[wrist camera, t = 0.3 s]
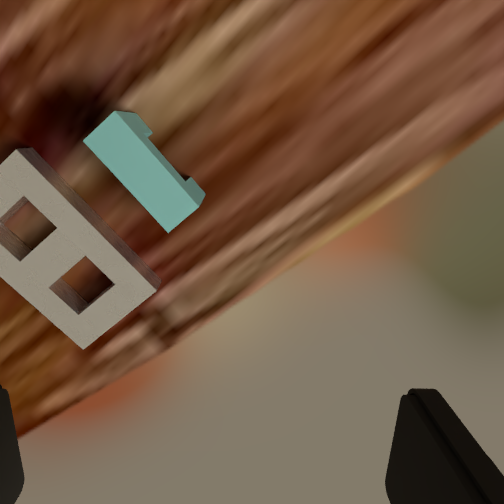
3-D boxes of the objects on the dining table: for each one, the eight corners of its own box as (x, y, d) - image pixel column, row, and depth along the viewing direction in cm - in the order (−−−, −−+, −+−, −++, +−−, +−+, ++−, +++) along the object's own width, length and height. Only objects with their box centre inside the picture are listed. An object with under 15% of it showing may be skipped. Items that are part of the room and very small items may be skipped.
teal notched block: (109, 138, 40) (82, 140, 33) (136, 113, 39) (114, 110, 33) (179, 216, 43) (168, 232, 36) (205, 194, 42) (199, 206, 35)
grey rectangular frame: (-40, 217, 42) (-60, 223, 39) (32, 147, 40) (16, 149, 37) (92, 336, 47) (83, 349, 45) (162, 280, 45) (156, 290, 42)
